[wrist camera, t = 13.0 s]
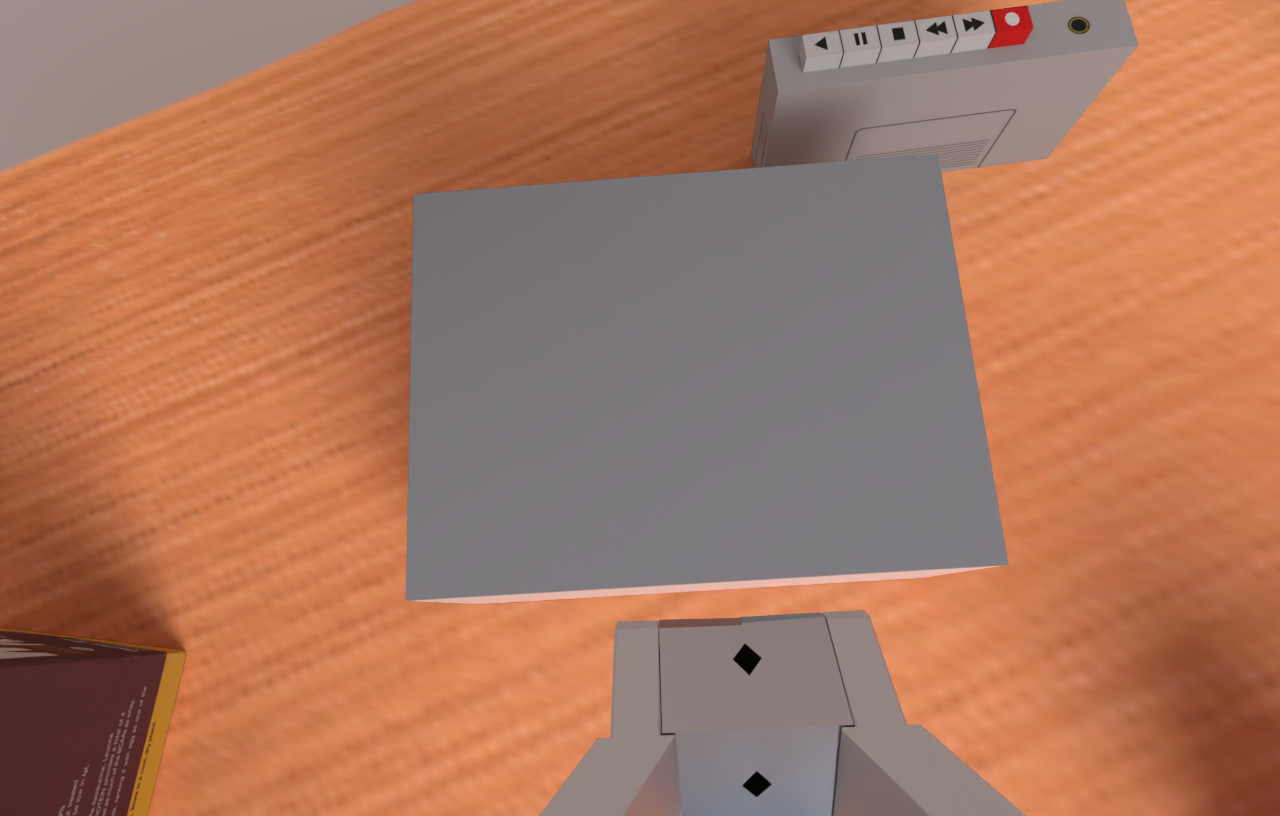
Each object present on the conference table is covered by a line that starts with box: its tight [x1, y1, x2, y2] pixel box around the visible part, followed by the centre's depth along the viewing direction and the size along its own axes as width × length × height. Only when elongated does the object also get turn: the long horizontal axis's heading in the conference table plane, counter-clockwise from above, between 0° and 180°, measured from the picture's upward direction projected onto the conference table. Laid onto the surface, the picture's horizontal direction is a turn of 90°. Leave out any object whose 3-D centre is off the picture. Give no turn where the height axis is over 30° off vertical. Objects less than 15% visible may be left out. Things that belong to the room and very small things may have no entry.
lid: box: [406, 154, 1008, 601], centre depth 30 cm, size 16×21×1 cm
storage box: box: [415, 566, 997, 604], centre depth 35 cm, size 16×21×10 cm
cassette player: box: [751, 0, 1138, 172], centre depth 39 cm, size 16×3×10 cm, turn 97°
